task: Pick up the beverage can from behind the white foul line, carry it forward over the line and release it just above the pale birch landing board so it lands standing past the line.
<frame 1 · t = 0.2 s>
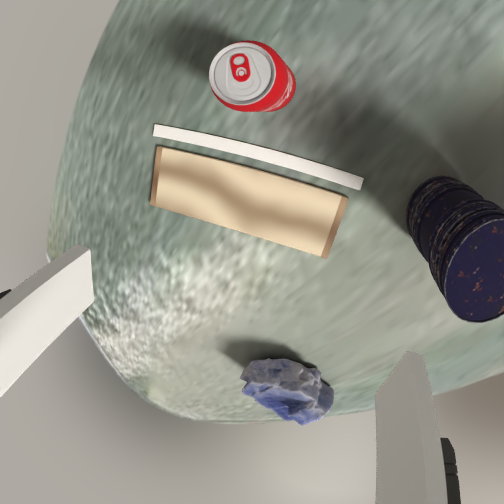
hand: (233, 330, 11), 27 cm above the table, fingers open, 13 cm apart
beverage can: (269, 85, 31), on the table
dark blue cylinder: (441, 214, 33), on the table
landing board: (241, 198, 38), on the table
foul line: (252, 151, 35), on the table
mineral: (291, 372, 49), on the table
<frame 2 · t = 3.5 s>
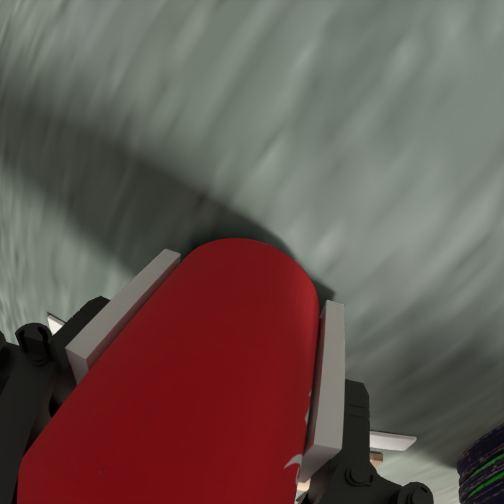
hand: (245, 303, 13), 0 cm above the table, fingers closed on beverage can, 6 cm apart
beverage can: (249, 295, 14), on the table, touching gripper
foul line: (220, 400, 17), on the table
when the fingers open (3 cm above the table, at t = 7.5 s): beverage can drops 2 cm, resting on landing board.
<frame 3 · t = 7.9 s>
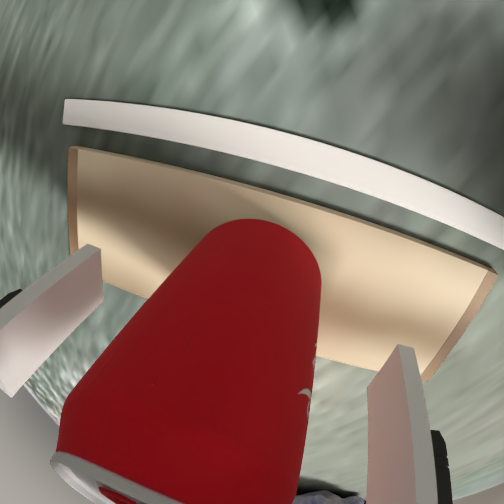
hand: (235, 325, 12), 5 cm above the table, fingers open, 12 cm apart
beverage can: (259, 272, 15), resting on landing board
landing board: (260, 268, 16), on the table
foul line: (291, 151, 13), on the table
mineral: (322, 496, 28), on the table
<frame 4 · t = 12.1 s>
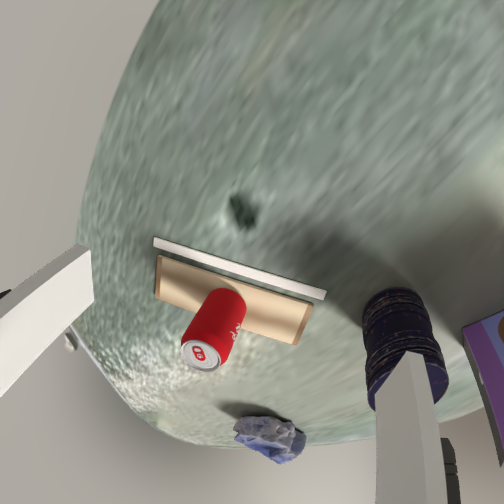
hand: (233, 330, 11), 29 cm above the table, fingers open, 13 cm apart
beverage can: (228, 302, 47), resting on landing board
dark blue cylinder: (393, 314, 42), on the table
landing board: (228, 300, 47), on the table
foul line: (236, 267, 44), on the table
mineral: (272, 423, 59), on the table
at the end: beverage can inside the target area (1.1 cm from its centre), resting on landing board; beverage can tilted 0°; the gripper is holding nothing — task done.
